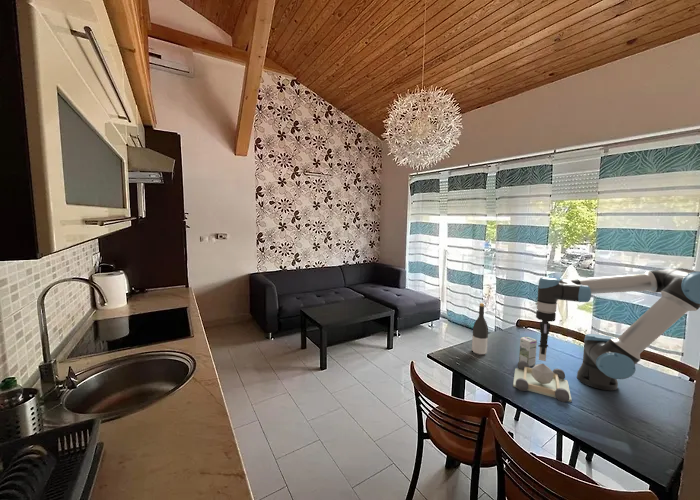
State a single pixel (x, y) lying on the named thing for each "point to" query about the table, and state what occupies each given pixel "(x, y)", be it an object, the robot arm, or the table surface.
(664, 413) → the table surface
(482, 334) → the wine bottle
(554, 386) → the chassis
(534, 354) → the syrup box
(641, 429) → the table surface
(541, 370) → the die
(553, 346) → the table surface
